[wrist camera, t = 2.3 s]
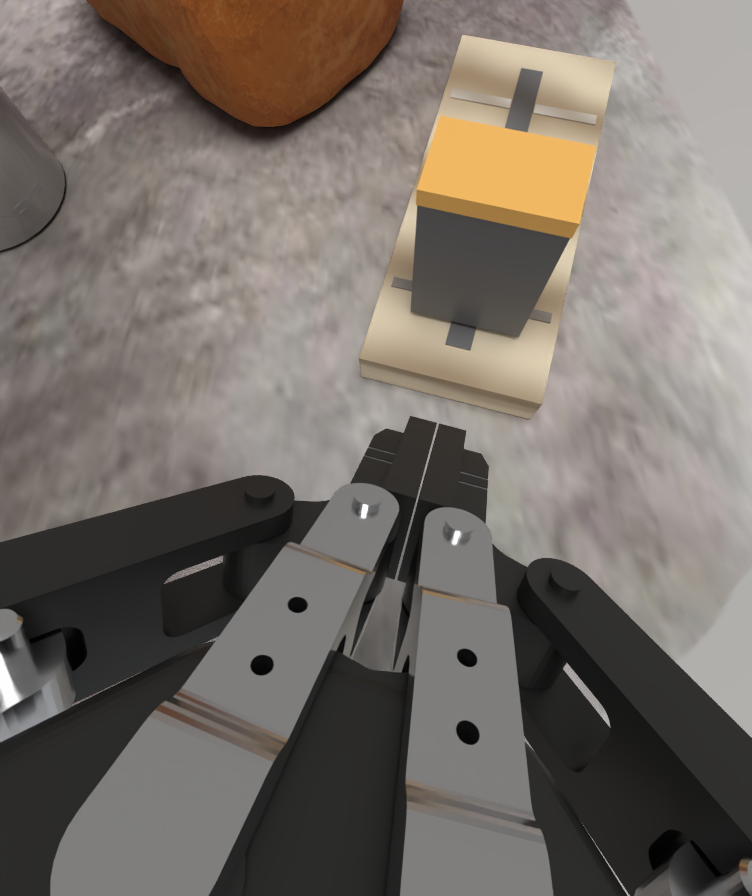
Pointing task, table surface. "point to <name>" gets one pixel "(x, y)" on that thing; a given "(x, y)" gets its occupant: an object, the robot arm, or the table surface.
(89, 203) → the table surface
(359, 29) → the bread
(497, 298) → the fader knob
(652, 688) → the robot arm
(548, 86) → the grooved wooden slider track
